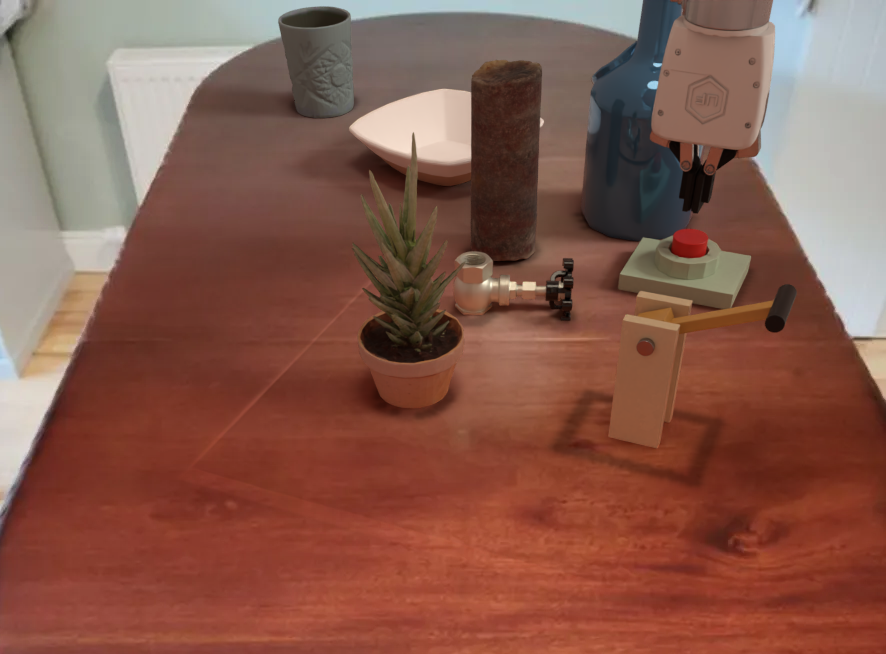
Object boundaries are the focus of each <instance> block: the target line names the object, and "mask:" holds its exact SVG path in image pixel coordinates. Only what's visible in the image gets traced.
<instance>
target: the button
mask: <svg viewBox="0 0 886 654" xmlns="http://www.w3.org/2000/svg"><path fill="white" fill-rule="evenodd" d="M672 236H673V241H672V247H671V253H673V254H674V255H676V256H678V257H683V258H700V257H703V256H705V254H706V249H707V243H708V239H709V235H708V234H707V233H706V232H705V231H703V230H700V229H696V228H685V229H682V230H678V231H676V232H675V233H674V235H672Z"/></svg>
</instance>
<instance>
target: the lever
mask: <svg viewBox="0 0 886 654" xmlns="http://www.w3.org/2000/svg"><path fill="white" fill-rule="evenodd" d="M797 294H798V292H797V288H796V287H795V286H794V285H793V284H790V283H784V284H782V285H780V286H779V288H778V289H777V291H776V294H775V297H774V299H772V300H768V301H761V302H757V303H751V304H744V305H740V306H735V307H731V308H728V309H718V310H712V311H707V312H700V313H695V314H690V315H689V316H684V317H678V318H674V316H673V312H672V309H671V308H666V309H660V310H655V311H649V312H644V313H639V314H638V316H639V317H644V318H649V319H654V320H659V321H664V322H669V323H674V324H679V325H680V329H679V334H684V333H687V334H689V333H695V332H701V331H706V330H713V329H718V328H724V327H730V326H737V325H743V324H747V323H754V322H761V321H764V327H765V329H766V330H767V331H768V332H770V333H773V334H774V333H777V334H778V333H780V332H781V331H783V330H784V328H785V326H786V323H787V322H788V318H789V317H790V313H791V310H792V308H793V305H794V302H795V299H796V297H797Z"/></svg>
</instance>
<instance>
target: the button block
mask: <svg viewBox="0 0 886 654" xmlns="http://www.w3.org/2000/svg"><path fill="white" fill-rule="evenodd" d="M672 241H673V235H672V236H670V237H668V238H665V239H657V240H656V239H650V238H644V237H643V238H642V240H641V241H639V243H638V244H637V246H636V247H635V249H634V250H633V252H632V254H631V255H630V257H629V258H628V260H627V262H626V263H625V265H624V267H623V268H622V270H621V271H620V273H619V275H618V276H619V277H618V283H617V284H618V285H617V290H619V291H624V292H630V293H635V294H638V293H639V292H640V291H644V292H650V293H655V294H660V295H666V296H671V297H676V298H682V299H687V300H692V301H693V302H692V304H694V305H700V306H705V307H710V308H715V309H719V310H723V309H728V308H733V305H734V303H735V301H736V298H737V296H738V294H739V292H740V289H741V287H742V285H743V284H744V281H745V280H746V277H747V275H748V273H749V269H750V265H751V260H752V256H751V255H749V254H744V253H737V252H732V251H725V250H722V249H721V248H720V246H719V245H718V243H717V242H715V241H713V240H711V239H710V238H708V243H707V249H706V254H705V256H703V257H700V258H683V257H678V256H676V255H674V254H673V253H671V247H672Z"/></svg>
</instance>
